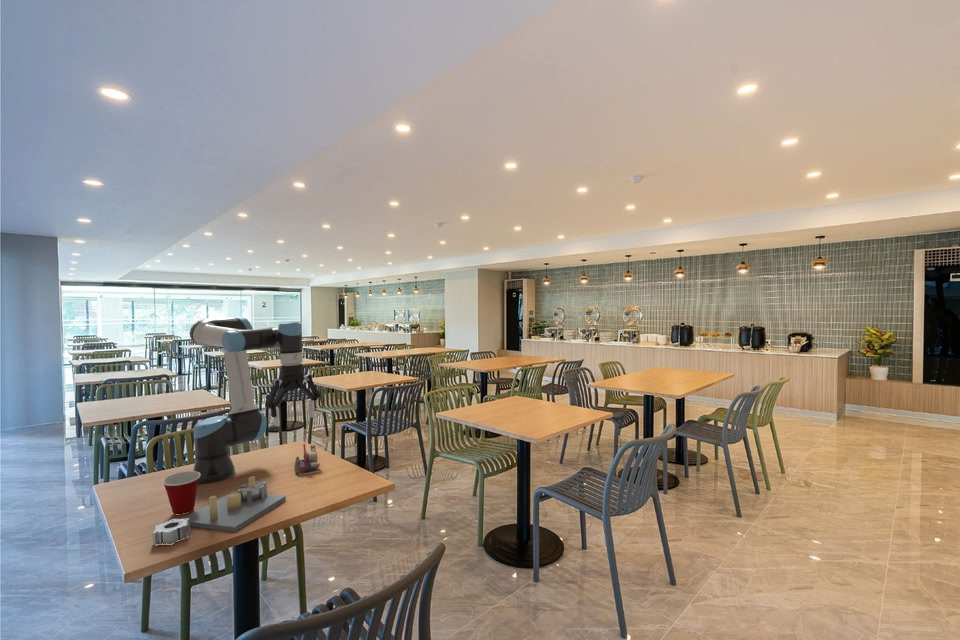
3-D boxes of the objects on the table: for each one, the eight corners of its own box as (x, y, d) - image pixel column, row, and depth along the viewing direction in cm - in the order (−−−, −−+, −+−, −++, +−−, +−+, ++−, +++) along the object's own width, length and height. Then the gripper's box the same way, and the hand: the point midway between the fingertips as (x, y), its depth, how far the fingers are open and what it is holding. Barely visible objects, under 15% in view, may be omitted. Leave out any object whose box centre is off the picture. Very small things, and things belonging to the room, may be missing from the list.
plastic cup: (172, 522, 143) (170, 485, 142) (158, 514, 149) (156, 479, 148) (209, 508, 152) (206, 473, 151) (194, 502, 158) (191, 468, 157)
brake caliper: (287, 462, 187) (305, 437, 190) (310, 474, 191) (327, 449, 193) (287, 471, 177) (306, 444, 179) (312, 484, 180) (330, 457, 183)
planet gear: (144, 545, 129) (143, 531, 129) (174, 529, 138) (173, 516, 138) (169, 548, 126) (168, 534, 126) (198, 532, 135) (197, 519, 135)
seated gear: (232, 501, 153) (232, 490, 153) (251, 491, 161) (250, 480, 161) (254, 503, 151) (253, 491, 150) (272, 493, 159) (271, 482, 158)
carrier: (178, 525, 141) (176, 498, 140) (234, 495, 162) (232, 472, 161) (235, 532, 135) (233, 504, 134) (285, 500, 156) (284, 476, 155)
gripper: (262, 369, 153) (265, 431, 154) (328, 360, 172) (330, 415, 173) (252, 368, 158) (256, 427, 158) (317, 359, 177) (320, 412, 178)
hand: (295, 421), depth 166 cm, fingers open, 13 cm apart
